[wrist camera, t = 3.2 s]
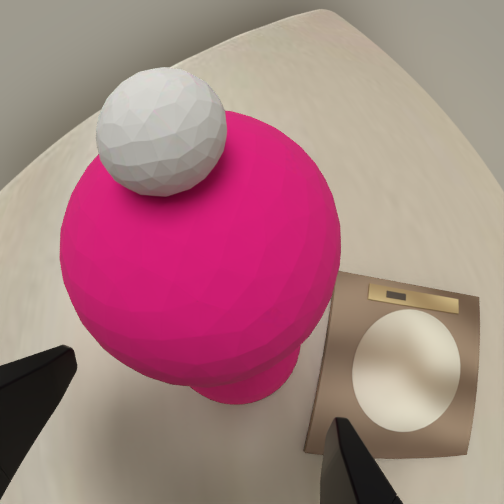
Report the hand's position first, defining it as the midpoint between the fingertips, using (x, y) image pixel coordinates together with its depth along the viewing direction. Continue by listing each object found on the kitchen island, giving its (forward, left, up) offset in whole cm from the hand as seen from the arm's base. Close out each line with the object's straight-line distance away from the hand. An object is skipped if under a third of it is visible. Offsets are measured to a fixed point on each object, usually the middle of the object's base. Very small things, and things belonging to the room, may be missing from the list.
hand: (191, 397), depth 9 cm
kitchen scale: (-4, -12, -12) cm, 17 cm away
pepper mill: (+3, -2, -12) cm, 12 cm away
